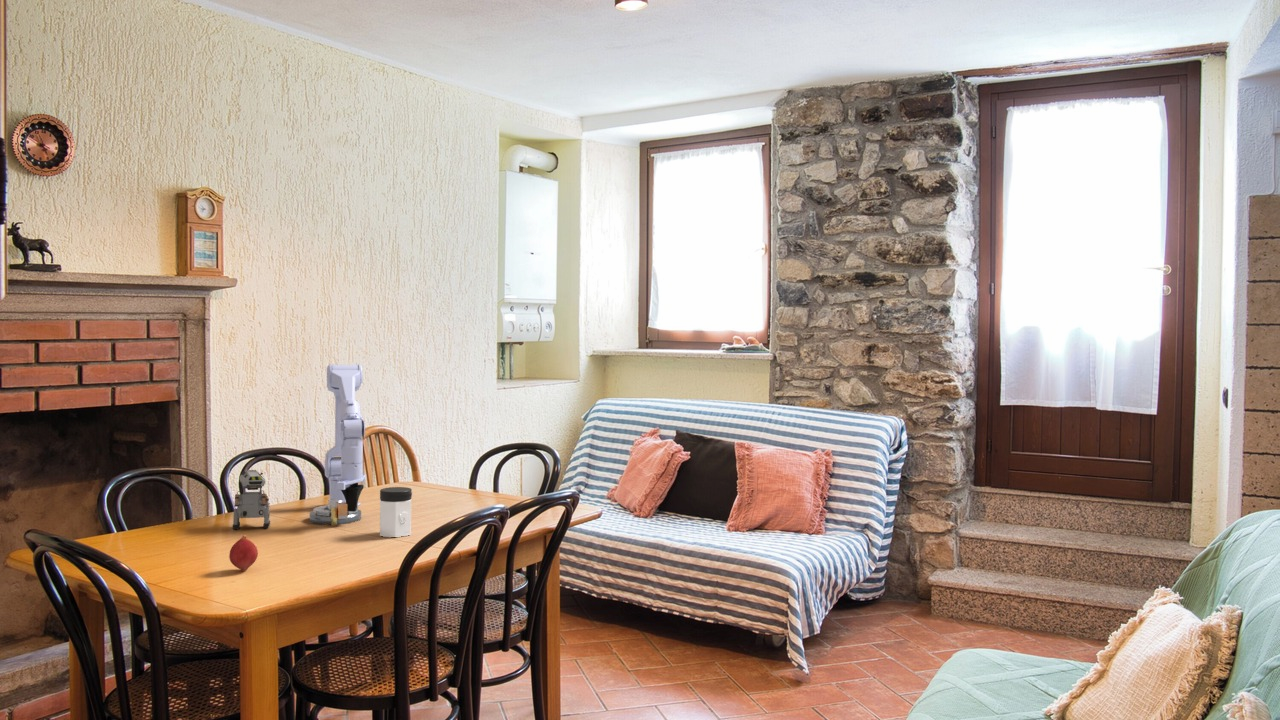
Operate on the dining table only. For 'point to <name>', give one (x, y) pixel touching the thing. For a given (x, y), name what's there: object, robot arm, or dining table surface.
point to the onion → (243, 554)
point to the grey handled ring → (341, 510)
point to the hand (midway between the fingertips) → (351, 511)
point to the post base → (327, 519)
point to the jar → (395, 511)
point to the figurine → (251, 499)
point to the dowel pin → (333, 516)
